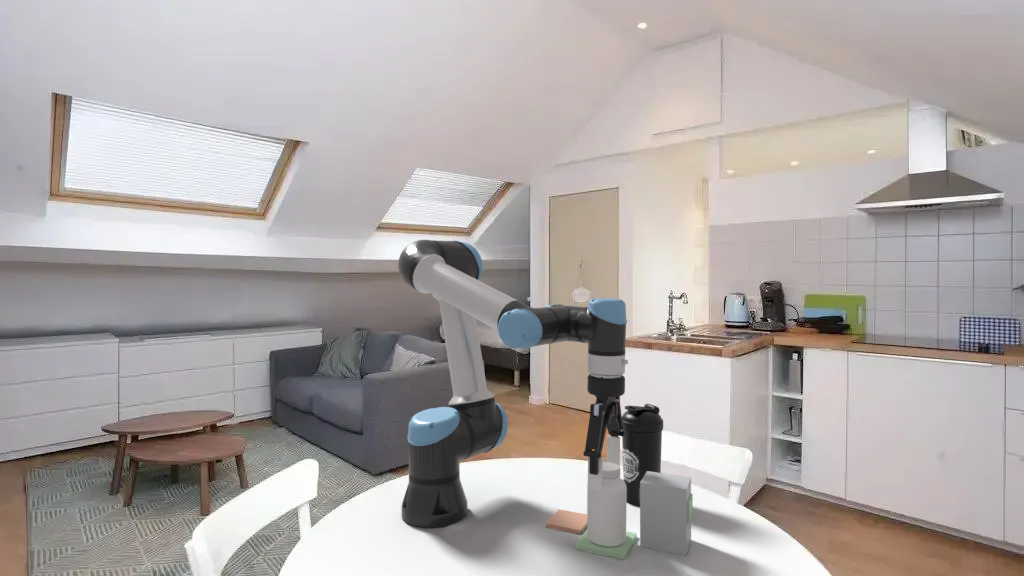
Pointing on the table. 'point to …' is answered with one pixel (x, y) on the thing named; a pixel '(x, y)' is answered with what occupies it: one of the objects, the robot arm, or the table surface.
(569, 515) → the terracotta pad
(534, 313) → the robot arm
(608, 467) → the pill bottle
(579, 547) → the green pad
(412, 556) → the table surface
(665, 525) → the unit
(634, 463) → the water bottle
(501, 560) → the table surface
